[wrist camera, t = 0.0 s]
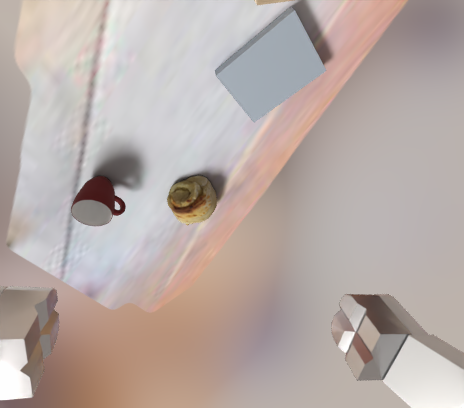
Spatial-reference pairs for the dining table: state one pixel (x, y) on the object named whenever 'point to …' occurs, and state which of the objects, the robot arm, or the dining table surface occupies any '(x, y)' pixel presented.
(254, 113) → the base plate
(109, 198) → the mug
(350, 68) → the dining table surface
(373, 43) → the dining table surface
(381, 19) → the dining table surface
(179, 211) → the pastry
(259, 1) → the maple block
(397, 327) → the robot arm
